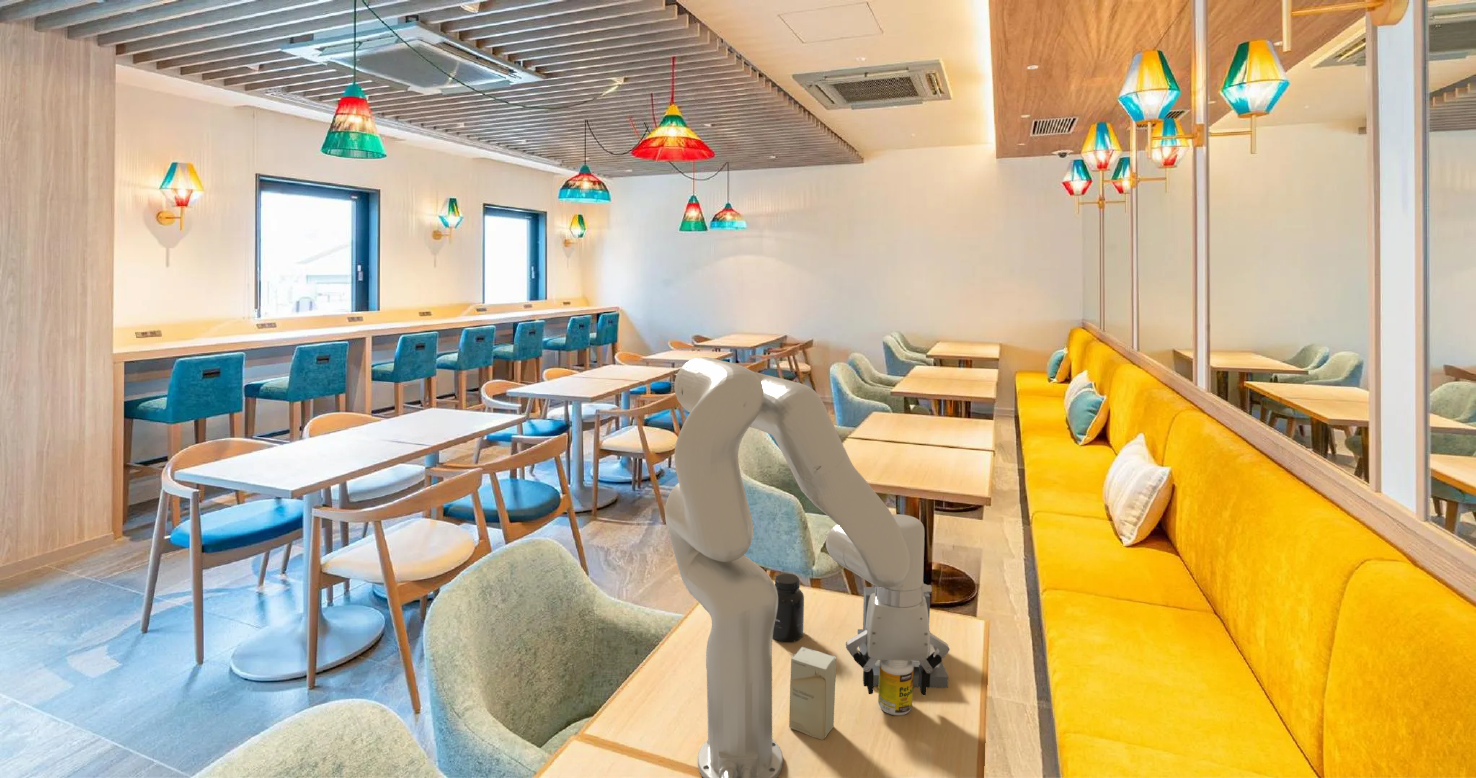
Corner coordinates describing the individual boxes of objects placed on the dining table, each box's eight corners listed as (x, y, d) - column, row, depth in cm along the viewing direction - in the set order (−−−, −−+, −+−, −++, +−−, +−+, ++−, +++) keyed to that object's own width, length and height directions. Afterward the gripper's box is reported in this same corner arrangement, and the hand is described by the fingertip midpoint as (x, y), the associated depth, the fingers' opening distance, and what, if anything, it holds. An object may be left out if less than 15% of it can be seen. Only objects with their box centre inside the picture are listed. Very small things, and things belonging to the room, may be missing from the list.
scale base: (947, 687, 124) (950, 628, 123) (866, 685, 125) (868, 627, 123) (929, 640, 140) (931, 587, 138) (857, 638, 141) (858, 586, 139)
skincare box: (788, 728, 114) (788, 658, 112) (800, 713, 118) (801, 645, 116) (824, 741, 111) (825, 669, 109) (836, 725, 114) (837, 655, 112)
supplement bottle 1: (765, 640, 141) (765, 583, 139) (774, 623, 147) (774, 569, 145) (799, 645, 139) (800, 587, 137) (806, 628, 145) (807, 573, 143)
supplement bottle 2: (899, 721, 115) (901, 663, 114) (871, 706, 119) (872, 650, 117) (918, 706, 119) (920, 650, 117) (890, 692, 123) (892, 637, 121)
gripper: (947, 582, 119) (944, 678, 122) (842, 580, 120) (841, 676, 123) (958, 603, 111) (954, 705, 114) (846, 601, 113) (845, 702, 116)
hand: (895, 689), depth 119 cm, fingers open, 8 cm apart
